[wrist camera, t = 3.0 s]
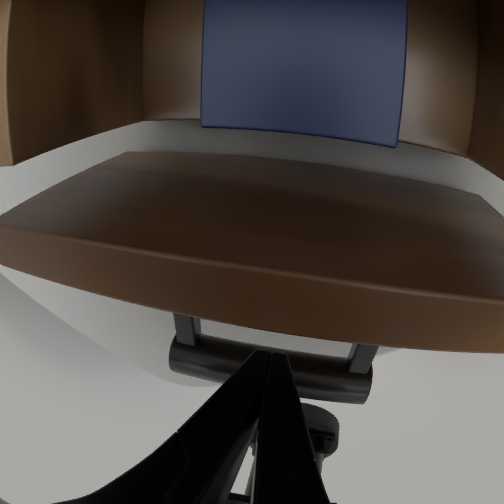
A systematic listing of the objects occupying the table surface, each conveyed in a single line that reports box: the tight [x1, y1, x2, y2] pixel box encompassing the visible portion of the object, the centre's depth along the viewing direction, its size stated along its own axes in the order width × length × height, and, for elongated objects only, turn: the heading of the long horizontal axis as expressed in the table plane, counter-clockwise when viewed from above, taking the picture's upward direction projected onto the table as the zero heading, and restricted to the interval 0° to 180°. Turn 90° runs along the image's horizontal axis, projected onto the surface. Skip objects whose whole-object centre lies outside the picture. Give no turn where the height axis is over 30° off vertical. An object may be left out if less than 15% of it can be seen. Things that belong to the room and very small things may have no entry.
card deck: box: [200, 0, 408, 148], centre depth 6 cm, size 6×4×2 cm
